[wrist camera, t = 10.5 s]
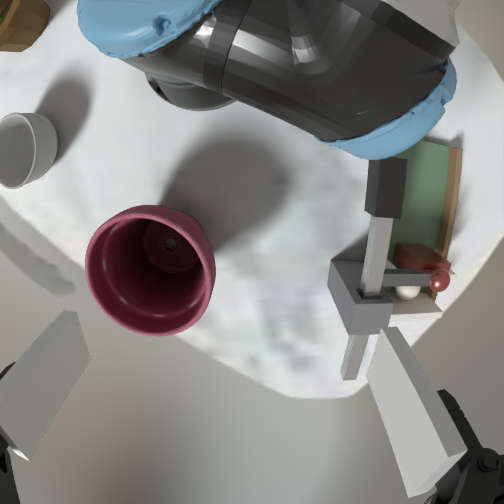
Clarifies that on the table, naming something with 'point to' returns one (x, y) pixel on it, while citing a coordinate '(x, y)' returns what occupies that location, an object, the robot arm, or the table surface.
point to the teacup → (25, 148)
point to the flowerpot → (21, 23)
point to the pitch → (405, 241)
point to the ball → (407, 292)
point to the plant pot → (151, 270)
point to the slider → (405, 257)
